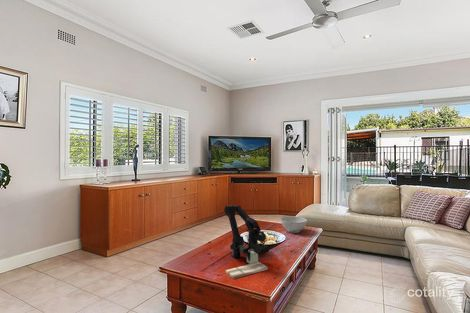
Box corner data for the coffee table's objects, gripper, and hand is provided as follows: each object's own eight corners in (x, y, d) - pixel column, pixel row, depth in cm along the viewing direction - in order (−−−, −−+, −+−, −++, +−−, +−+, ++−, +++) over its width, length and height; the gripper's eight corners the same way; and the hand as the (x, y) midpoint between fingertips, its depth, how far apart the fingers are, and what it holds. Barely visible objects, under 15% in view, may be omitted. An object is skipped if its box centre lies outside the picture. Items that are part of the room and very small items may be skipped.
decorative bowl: (308, 228, 274) (308, 217, 274) (305, 236, 249) (305, 223, 249) (282, 226, 283) (282, 215, 283) (277, 233, 258) (278, 221, 258)
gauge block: (244, 260, 191) (244, 250, 191) (250, 258, 194) (250, 249, 194) (252, 265, 183) (252, 255, 182) (257, 263, 185) (258, 254, 185)
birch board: (225, 272, 171) (225, 270, 171) (259, 264, 185) (259, 261, 185) (233, 278, 162) (233, 276, 162) (267, 269, 176) (267, 267, 176)
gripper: (247, 243, 175) (247, 266, 175) (269, 239, 184) (269, 261, 184) (239, 239, 185) (239, 261, 185) (260, 235, 194) (260, 256, 194)
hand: (252, 259), depth 187 cm, fingers closed on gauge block, 5 cm apart
